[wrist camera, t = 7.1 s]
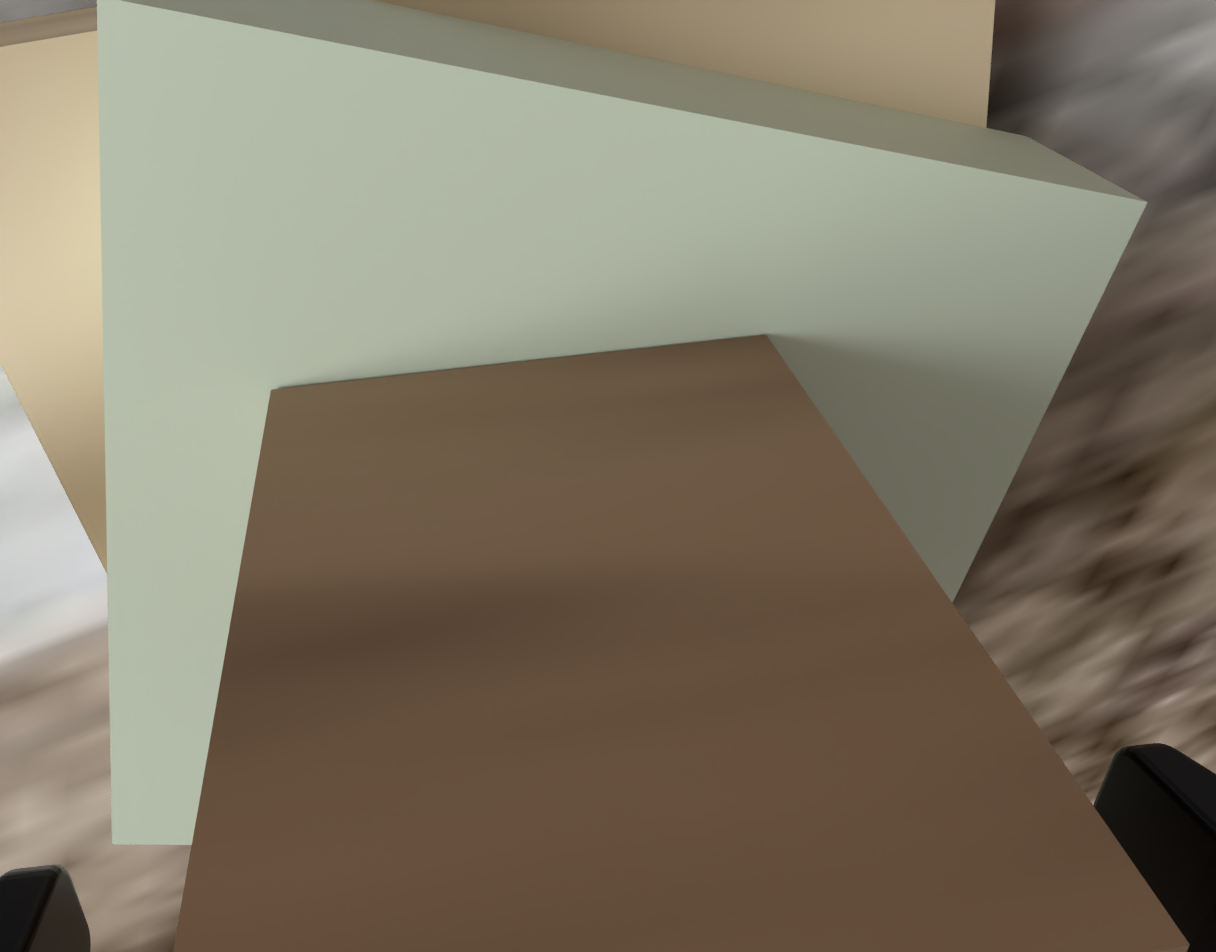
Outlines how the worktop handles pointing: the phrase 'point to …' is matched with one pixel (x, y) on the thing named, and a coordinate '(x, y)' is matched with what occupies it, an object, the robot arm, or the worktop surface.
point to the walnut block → (618, 689)
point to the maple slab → (535, 3)
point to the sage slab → (527, 280)
